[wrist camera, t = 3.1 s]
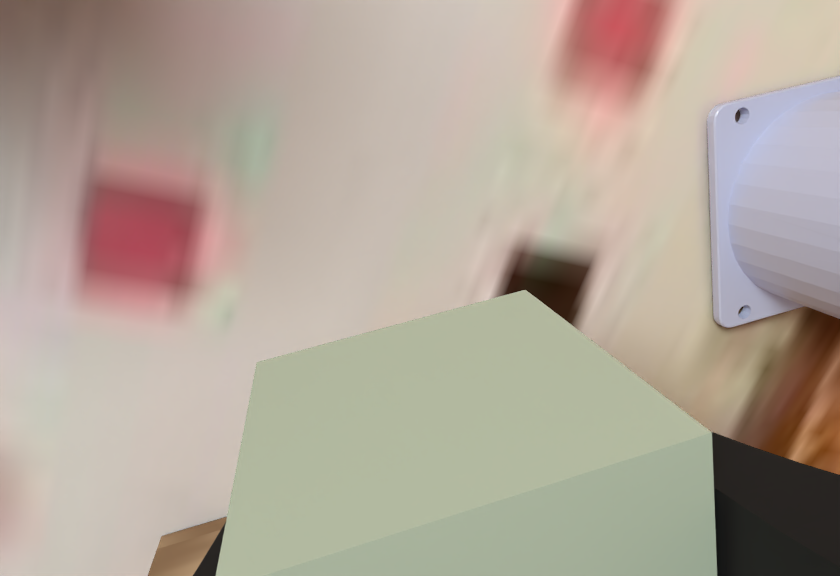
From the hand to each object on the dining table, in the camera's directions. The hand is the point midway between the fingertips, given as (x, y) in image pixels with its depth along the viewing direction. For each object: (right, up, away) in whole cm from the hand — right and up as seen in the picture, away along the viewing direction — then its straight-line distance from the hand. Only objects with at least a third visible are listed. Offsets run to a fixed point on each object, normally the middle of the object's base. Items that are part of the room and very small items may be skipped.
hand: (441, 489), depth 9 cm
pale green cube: (0, 0, +1) cm, 2 cm away
